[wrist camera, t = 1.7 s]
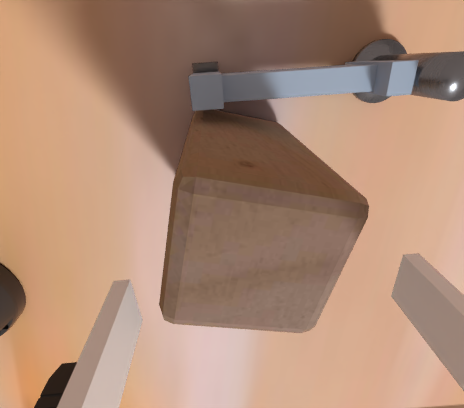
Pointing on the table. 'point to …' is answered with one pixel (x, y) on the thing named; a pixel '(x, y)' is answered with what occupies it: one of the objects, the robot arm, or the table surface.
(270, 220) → the wooden block
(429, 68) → the gate posts
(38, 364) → the table surface
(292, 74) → the grey i-beam block
